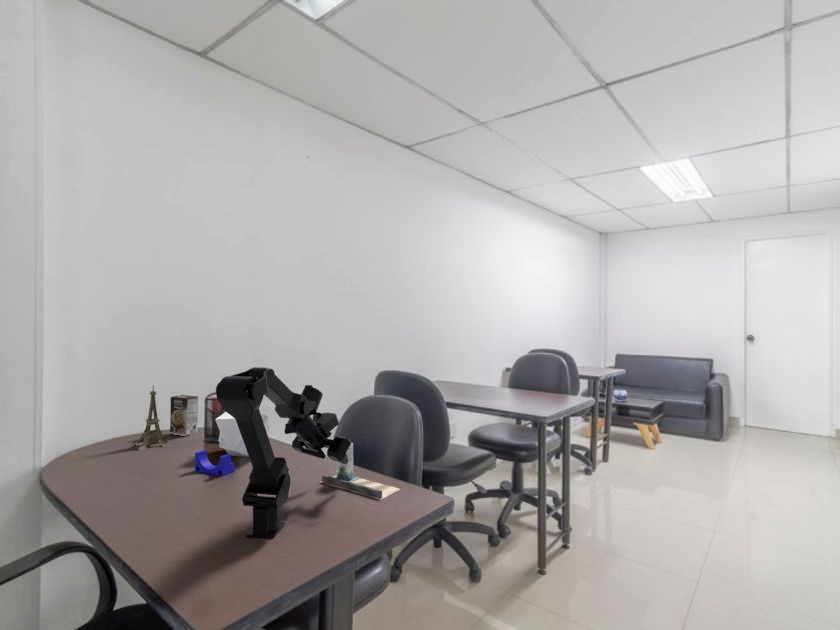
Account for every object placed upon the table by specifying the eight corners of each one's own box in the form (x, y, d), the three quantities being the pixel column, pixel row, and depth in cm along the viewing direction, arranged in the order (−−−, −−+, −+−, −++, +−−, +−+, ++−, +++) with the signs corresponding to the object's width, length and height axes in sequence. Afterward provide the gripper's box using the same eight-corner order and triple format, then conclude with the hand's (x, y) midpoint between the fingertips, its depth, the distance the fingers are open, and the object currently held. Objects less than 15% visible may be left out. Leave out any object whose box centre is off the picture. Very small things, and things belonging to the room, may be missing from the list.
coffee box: (169, 435, 186) (169, 396, 187) (181, 431, 193) (182, 394, 193) (186, 437, 184) (186, 398, 184) (198, 433, 190) (198, 395, 190)
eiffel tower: (138, 451, 164) (139, 383, 164) (134, 445, 172) (134, 380, 172) (170, 446, 171) (171, 380, 171) (164, 440, 179) (165, 378, 179)
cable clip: (234, 472, 141) (234, 453, 142) (223, 476, 137) (223, 457, 137) (206, 467, 146) (206, 449, 146) (194, 471, 142) (195, 452, 142)
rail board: (400, 491, 125) (400, 482, 125) (380, 502, 117) (380, 492, 117) (341, 475, 138) (341, 467, 138) (319, 484, 130) (319, 475, 130)
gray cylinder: (351, 481, 130) (351, 443, 130) (334, 481, 130) (334, 443, 130) (354, 475, 135) (354, 439, 135) (338, 475, 135) (338, 439, 135)
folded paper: (245, 400, 174) (203, 410, 160) (286, 406, 161) (244, 419, 147) (248, 442, 175) (206, 457, 161) (288, 452, 162) (247, 469, 148)
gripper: (346, 408, 120) (372, 441, 129) (300, 401, 131) (327, 432, 139) (324, 444, 113) (354, 475, 122) (277, 433, 124) (307, 463, 133)
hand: (335, 460), depth 129 cm, fingers open, 9 cm apart
